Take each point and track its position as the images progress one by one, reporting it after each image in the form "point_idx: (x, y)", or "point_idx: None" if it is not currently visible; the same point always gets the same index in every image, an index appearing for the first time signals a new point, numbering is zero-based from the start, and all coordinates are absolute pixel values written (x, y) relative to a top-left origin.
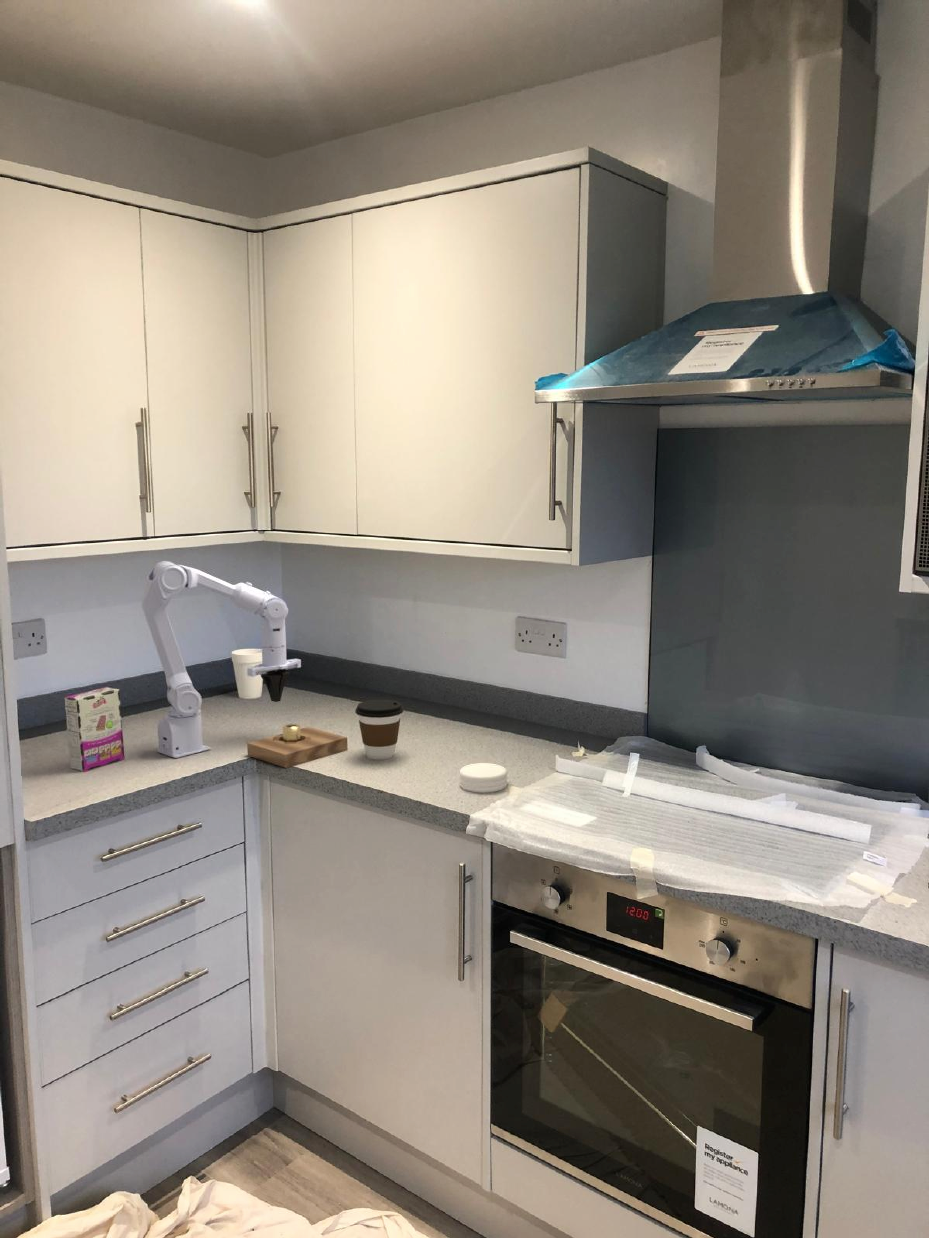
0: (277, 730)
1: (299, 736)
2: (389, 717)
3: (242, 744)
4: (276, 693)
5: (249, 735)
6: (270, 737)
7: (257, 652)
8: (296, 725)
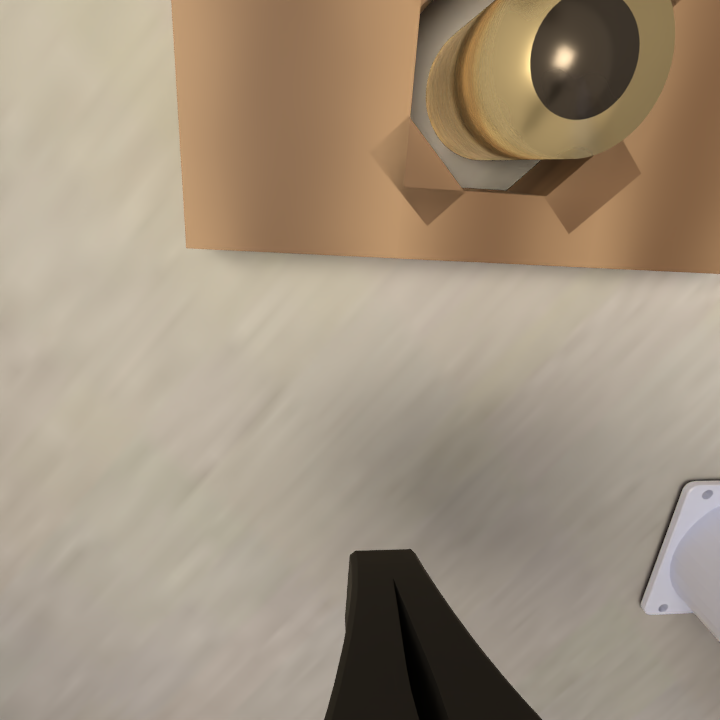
0: (227, 518)
1: None
2: None
3: (536, 445)
4: (453, 623)
5: (394, 542)
6: (584, 249)
7: None
8: (545, 20)
